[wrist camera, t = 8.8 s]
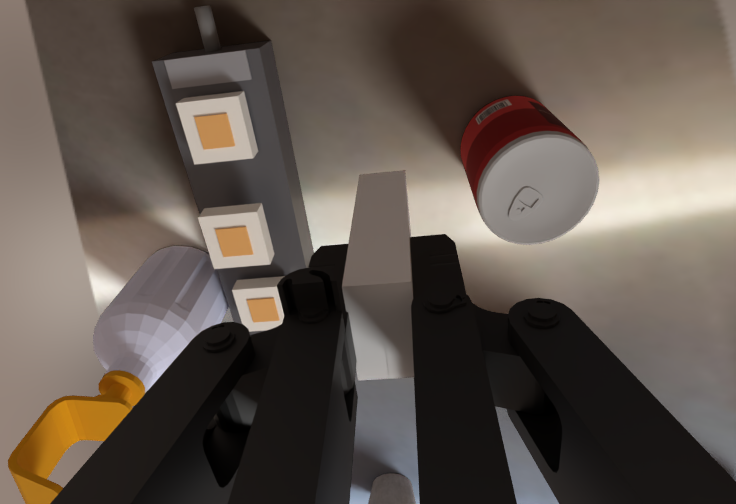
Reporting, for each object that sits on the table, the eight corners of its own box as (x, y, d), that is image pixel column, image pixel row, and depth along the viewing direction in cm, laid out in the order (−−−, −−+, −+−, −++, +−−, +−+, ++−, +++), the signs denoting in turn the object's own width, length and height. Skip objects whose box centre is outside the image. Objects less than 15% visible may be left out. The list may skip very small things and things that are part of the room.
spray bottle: (237, 320, 53) (134, 561, 32) (151, 315, 53) (-9, 551, 32) (230, 246, 49) (103, 468, 27) (136, 241, 49) (-63, 457, 28)
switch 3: (248, 257, 49) (231, 291, 44) (294, 253, 48) (283, 287, 43) (258, 296, 51) (244, 332, 46) (303, 292, 50) (293, 329, 45)
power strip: (160, 11, 39) (135, 16, 35) (262, -3, 38) (248, 1, 34) (250, 316, 53) (239, 342, 49) (325, 310, 52) (320, 336, 48)
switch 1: (201, 86, 41) (174, 103, 36) (256, 79, 40) (237, 96, 35) (216, 141, 43) (193, 165, 38) (269, 135, 43) (252, 159, 38)
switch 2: (219, 188, 43) (196, 218, 38) (272, 183, 42) (256, 212, 38) (233, 235, 45) (213, 270, 40) (283, 231, 45) (269, 265, 40)
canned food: (445, 171, 44) (460, 229, 34) (481, 80, 40) (508, 117, 31) (527, 195, 45) (563, 259, 35) (570, 108, 41) (624, 153, 31)
